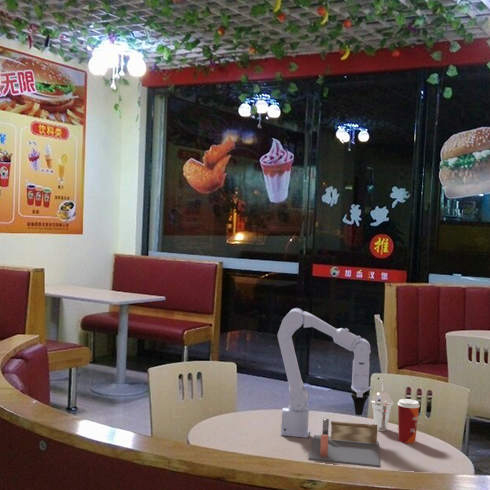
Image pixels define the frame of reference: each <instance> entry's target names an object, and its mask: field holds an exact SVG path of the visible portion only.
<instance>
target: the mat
mask: <svg viewBox="0 0 490 490" xmlns="http://www.w3.org/2000/svg"><path fill="white" fill-rule="evenodd" d="M328 436H329V438H328V456H327V457H321V456H320V447H321V435H318V434H317V435H316V434H313V439H312V442H311V448H310V451H309V455H308V460H309V461H320V462H321V461H322V462H330V463H337V464H338V463H339V464H350V465H359V466H366V467H367V466H368V467H377V468H380V452H379V451H380V450H379V448H380V447H379V441H378V440H377V444H372V443H364V442H354V441H344V440H334V439H331V435H328Z"/></svg>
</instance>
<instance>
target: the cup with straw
mask: <svg viewBox="0 0 490 490" xmlns="http://www.w3.org/2000/svg"><path fill="white" fill-rule="evenodd" d="M377 380H379V381H380V380H381V388H380V389H381V391H378V392H376V393H374V394H373V397H372V398H371V399H370V401H369V403H370V404H371V408H372V413H373V415H372V416H373V425H377V432H378V431H379V432H386V431H387V430H388V429H387V428H388V425H389V424H388V423H389V419H390V414H391V413H390V412H391V409H392V406H393V405H394V401H393V400H392V397H391V396H390V394H389V393H388V392H385V391H384V384H385V383H384V377H377Z"/></svg>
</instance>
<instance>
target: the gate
mask: <svg viewBox="0 0 490 490" xmlns="http://www.w3.org/2000/svg"><path fill="white" fill-rule="evenodd" d="M330 425H331V428H330V429H331V431H330V436H331V439H334V440H344V441H354V442H364V443H372V444H377V441H378V430H377V425H374V423H373V424H368V423H357V422H347V421H335V420H331V422H330Z"/></svg>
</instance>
